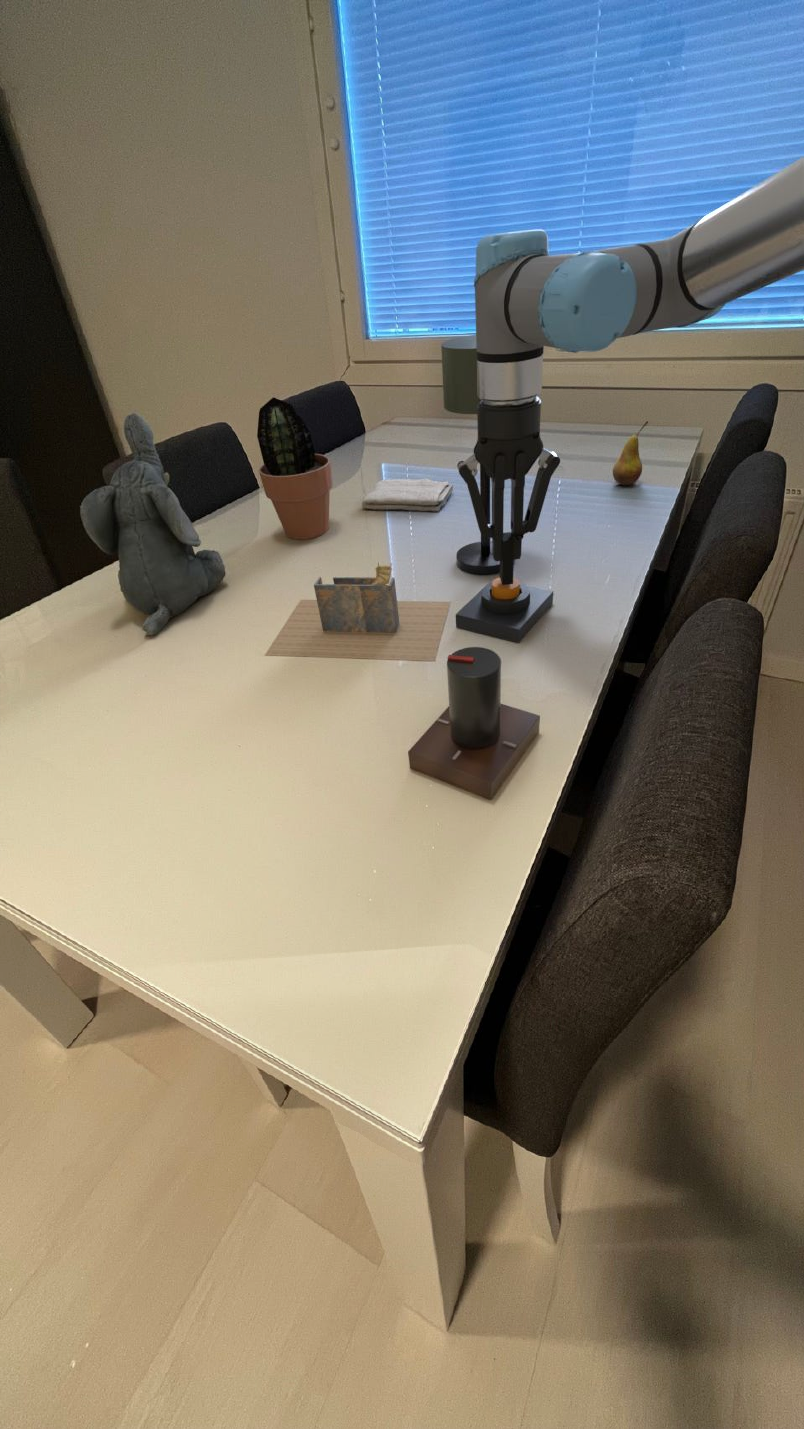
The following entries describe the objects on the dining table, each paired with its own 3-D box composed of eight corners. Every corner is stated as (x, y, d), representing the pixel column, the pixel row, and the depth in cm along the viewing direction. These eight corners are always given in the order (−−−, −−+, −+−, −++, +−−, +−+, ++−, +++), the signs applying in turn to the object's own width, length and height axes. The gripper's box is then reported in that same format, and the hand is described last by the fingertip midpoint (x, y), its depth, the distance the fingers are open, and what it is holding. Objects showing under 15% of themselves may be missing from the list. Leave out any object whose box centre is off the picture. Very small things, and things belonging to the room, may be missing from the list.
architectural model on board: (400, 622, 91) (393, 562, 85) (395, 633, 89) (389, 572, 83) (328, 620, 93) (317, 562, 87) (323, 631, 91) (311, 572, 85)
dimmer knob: (504, 720, 67) (505, 647, 61) (494, 752, 63) (494, 677, 57) (457, 714, 69) (454, 641, 63) (445, 745, 65) (440, 671, 59)
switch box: (552, 604, 91) (554, 580, 89) (518, 643, 84) (519, 618, 81) (493, 591, 96) (493, 568, 93) (455, 627, 88) (454, 603, 86)
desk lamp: (532, 553, 105) (542, 332, 84) (501, 583, 98) (504, 348, 77) (471, 543, 111) (467, 333, 90) (438, 570, 103) (425, 348, 83)
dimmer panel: (539, 732, 69) (540, 714, 67) (491, 800, 62) (491, 782, 60) (462, 707, 74) (461, 690, 72) (409, 768, 66) (407, 750, 65)
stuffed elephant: (188, 562, 116) (136, 409, 99) (251, 591, 104) (204, 422, 87) (94, 603, 106) (17, 440, 89) (151, 640, 94) (75, 460, 77)
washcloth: (442, 512, 123) (441, 497, 121) (360, 511, 128) (358, 496, 126) (455, 492, 132) (454, 477, 130) (377, 491, 137) (376, 477, 135)
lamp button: (524, 590, 88) (524, 579, 87) (512, 602, 85) (512, 591, 84) (499, 585, 90) (499, 574, 89) (486, 597, 87) (486, 586, 86)
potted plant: (351, 532, 120) (330, 393, 104) (287, 551, 116) (255, 409, 100) (325, 512, 130) (302, 383, 114) (265, 529, 125) (233, 397, 110)
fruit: (617, 478, 130) (625, 417, 122) (644, 481, 126) (653, 420, 119) (606, 486, 126) (613, 425, 119) (633, 490, 123) (642, 427, 116)
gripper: (557, 385, 74) (546, 564, 89) (451, 397, 74) (458, 573, 89) (572, 398, 68) (558, 587, 83) (457, 411, 69) (463, 597, 83)
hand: (506, 580), depth 86 cm, fingers closed
